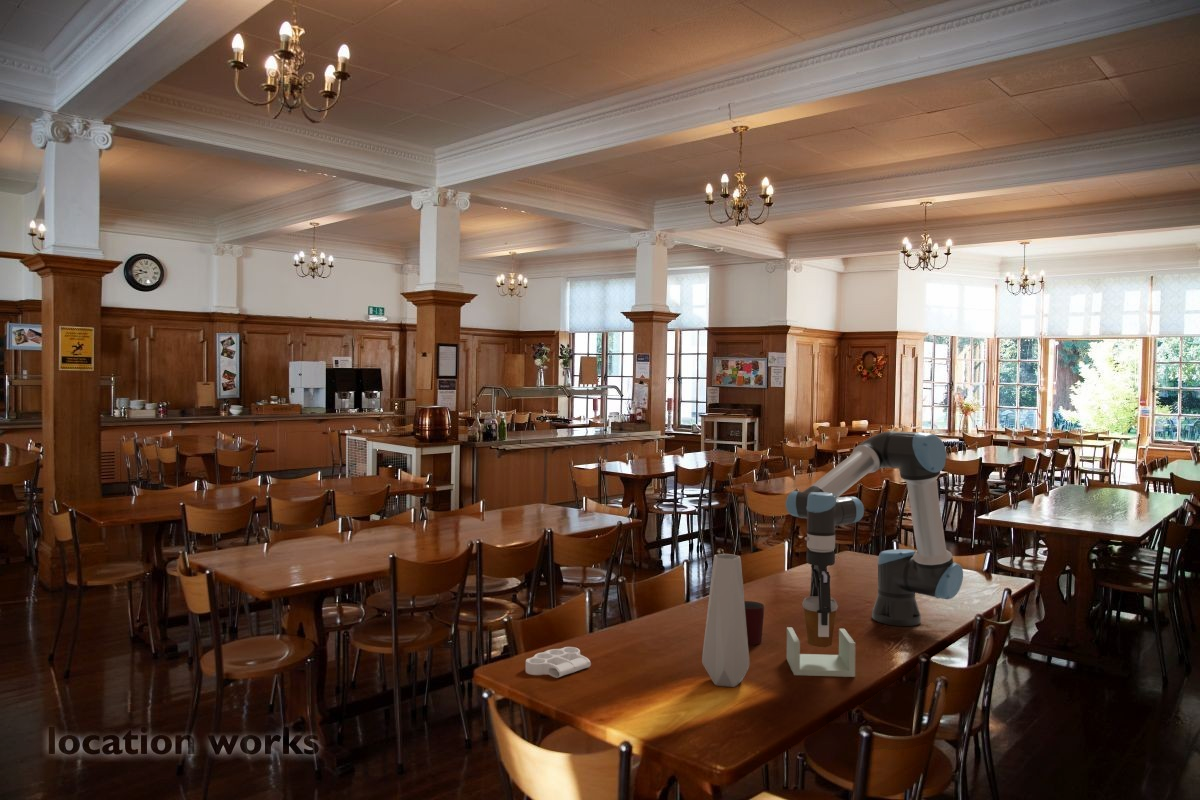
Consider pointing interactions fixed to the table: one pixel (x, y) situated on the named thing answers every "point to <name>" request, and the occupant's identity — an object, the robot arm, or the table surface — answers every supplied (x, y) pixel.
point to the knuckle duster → (557, 662)
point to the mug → (754, 621)
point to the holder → (822, 658)
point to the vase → (726, 624)
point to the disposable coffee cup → (812, 621)
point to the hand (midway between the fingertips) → (819, 630)
